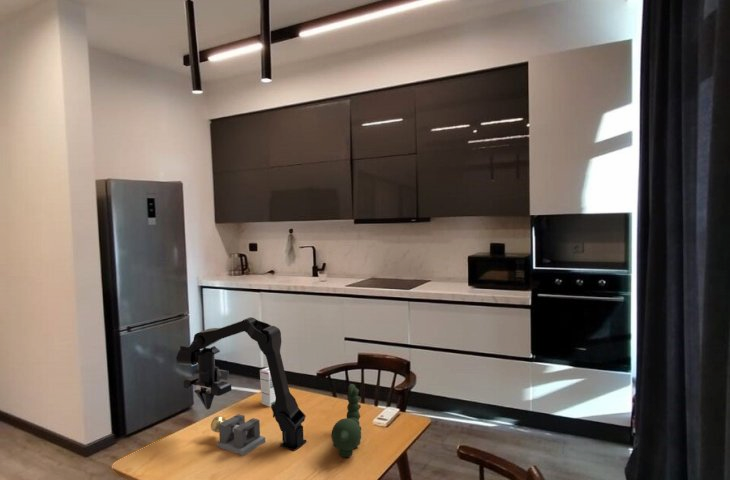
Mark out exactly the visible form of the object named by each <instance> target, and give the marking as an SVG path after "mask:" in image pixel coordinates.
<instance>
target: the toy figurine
mask: <svg viewBox="0 0 730 480" xmlns="http://www.w3.org/2000/svg"><path fill="white" fill-rule="evenodd" d="M347 390H348V395H347V401H348V402H347V403H348V404H347V407H346V408H347V409H346V410H347V412H346V418H341V419H339V420H338V421H336V423H334V425H333V427H332V429H331V440H332V444H333V447H335V448H337V449H339V450H338V454H339V455H340V456H341V457H343V458H350V457H351V456H352V455H353V453H354V452H353V450H354V449H355V448H357V447H359V446H360V445H361V440H362V426H361V424H360V418H361V414H360V412H359V410H360V409H361V407H362V406H361V404H359V402H360V401H359V400H361V397H360V396H359V392H360V389H358V388H357V387H356V385H355V384H354V383H350V384H349V385H348V389H347ZM349 456H350V457H349Z"/></svg>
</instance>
